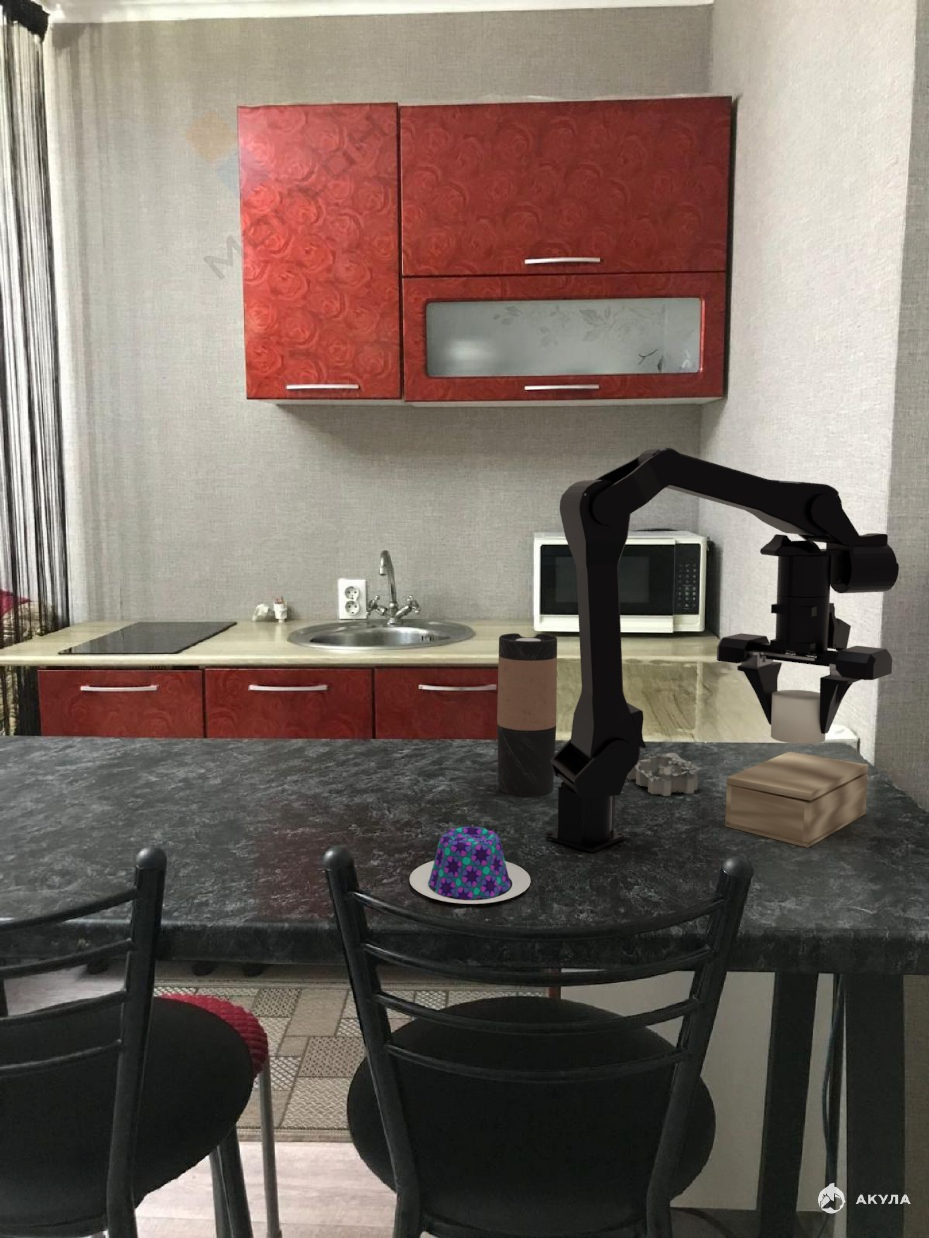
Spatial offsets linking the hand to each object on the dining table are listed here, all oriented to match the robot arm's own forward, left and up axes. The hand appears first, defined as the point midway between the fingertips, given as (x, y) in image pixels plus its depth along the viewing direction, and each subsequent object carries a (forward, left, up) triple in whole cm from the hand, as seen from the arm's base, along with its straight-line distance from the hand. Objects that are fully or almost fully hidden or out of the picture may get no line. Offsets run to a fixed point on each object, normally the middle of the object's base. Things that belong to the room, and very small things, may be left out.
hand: (798, 728), depth 115 cm
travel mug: (-11, +31, -12) cm, 35 cm away
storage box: (+2, 0, -11) cm, 11 cm away
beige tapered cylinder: (0, 0, -1) cm, 1 cm away
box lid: (+2, 0, -6) cm, 6 cm away
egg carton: (+3, +20, -12) cm, 23 cm away
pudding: (-39, +15, -12) cm, 44 cm away
